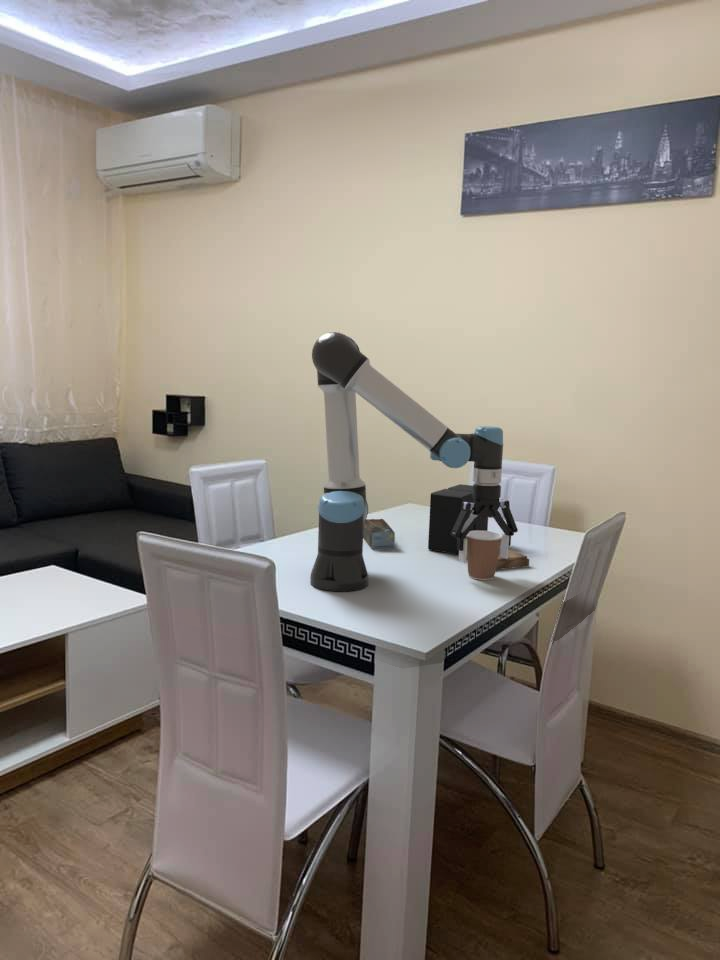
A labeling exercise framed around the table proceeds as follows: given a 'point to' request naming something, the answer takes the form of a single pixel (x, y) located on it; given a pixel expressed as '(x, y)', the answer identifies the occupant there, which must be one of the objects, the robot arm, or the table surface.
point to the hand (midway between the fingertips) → (483, 559)
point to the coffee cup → (482, 554)
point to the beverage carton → (378, 534)
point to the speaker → (449, 517)
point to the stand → (512, 560)
